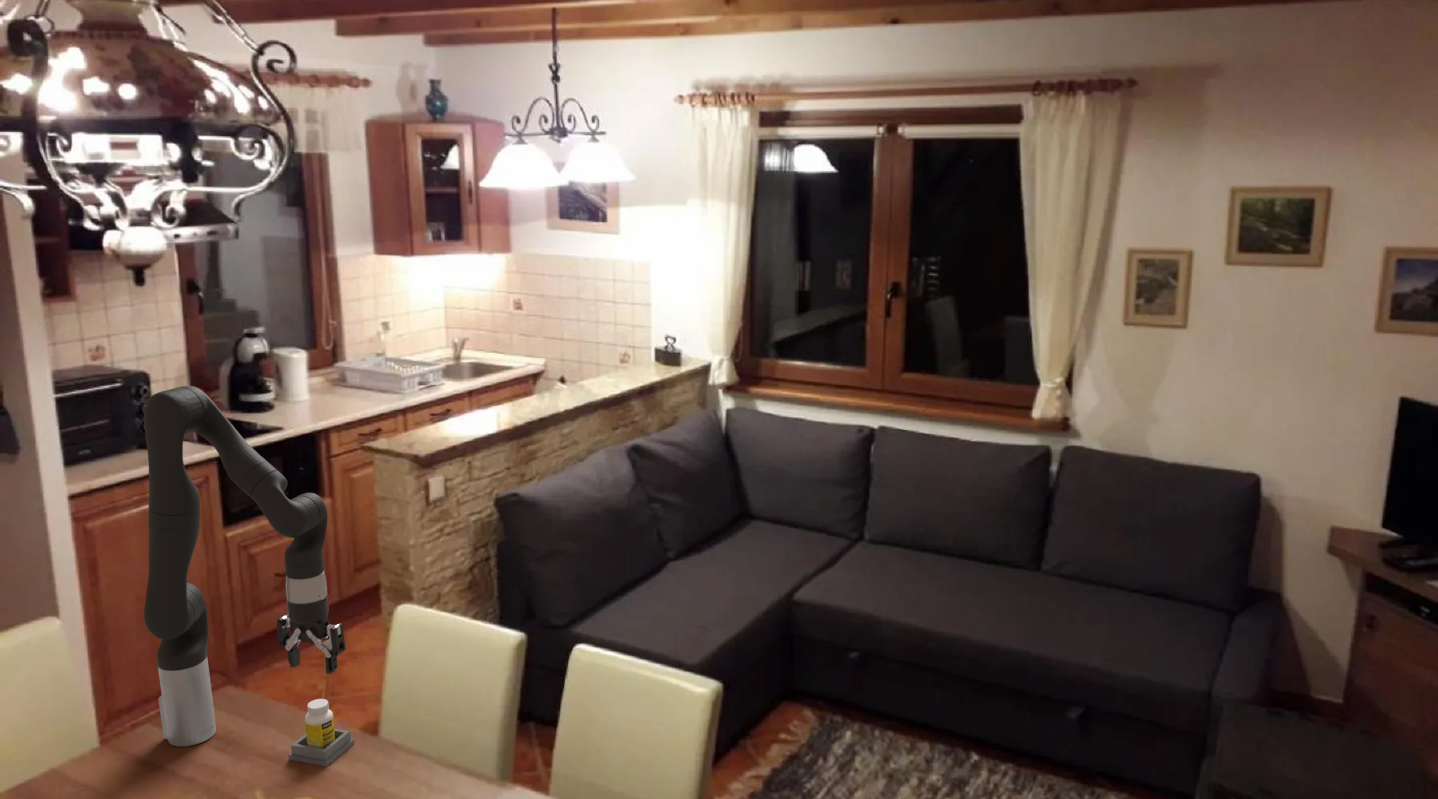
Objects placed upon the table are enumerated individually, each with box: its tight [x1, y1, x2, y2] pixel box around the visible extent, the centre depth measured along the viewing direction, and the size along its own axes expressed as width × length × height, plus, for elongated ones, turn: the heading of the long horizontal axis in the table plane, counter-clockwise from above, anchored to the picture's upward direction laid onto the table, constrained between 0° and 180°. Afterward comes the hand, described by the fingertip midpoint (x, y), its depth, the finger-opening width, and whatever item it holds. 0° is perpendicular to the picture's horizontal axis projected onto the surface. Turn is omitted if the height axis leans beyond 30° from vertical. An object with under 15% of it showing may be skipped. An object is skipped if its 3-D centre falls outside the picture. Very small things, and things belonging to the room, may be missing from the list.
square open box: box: [288, 727, 355, 768], centre depth 219 cm, size 9×9×3 cm
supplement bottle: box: [304, 698, 335, 749], centre depth 218 cm, size 5×5×10 cm
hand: (313, 669), depth 215 cm, fingers open, 8 cm apart
